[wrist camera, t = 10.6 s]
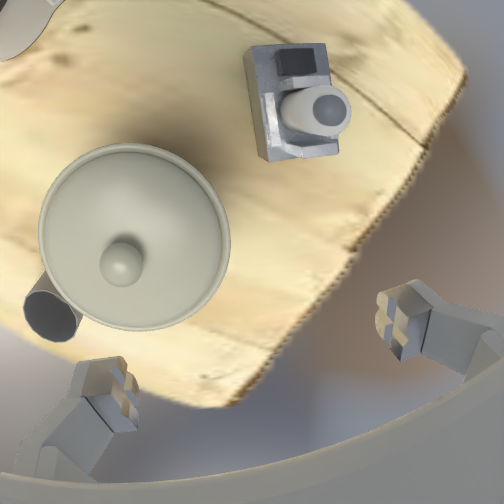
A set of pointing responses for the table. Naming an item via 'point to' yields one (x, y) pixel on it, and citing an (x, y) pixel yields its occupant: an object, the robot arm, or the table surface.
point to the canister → (134, 237)
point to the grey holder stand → (273, 91)
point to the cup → (50, 312)
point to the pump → (316, 110)
